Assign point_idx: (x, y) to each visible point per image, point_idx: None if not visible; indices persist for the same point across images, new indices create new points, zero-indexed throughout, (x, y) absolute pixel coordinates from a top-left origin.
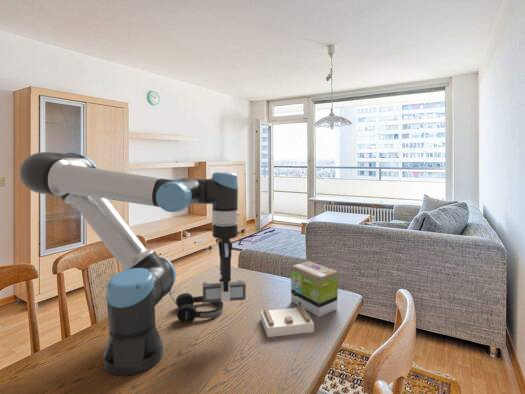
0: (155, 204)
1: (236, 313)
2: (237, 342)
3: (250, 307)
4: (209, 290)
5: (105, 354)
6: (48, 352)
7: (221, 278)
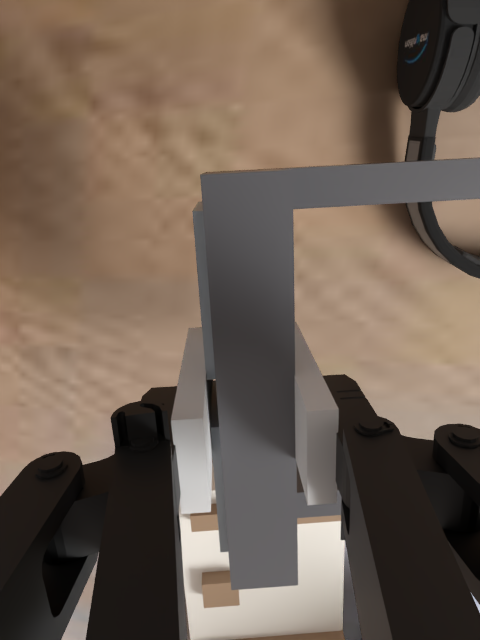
0: None
1: (427, 345)
2: (150, 339)
3: (472, 417)
4: (197, 249)
5: None
6: None
7: (143, 447)
